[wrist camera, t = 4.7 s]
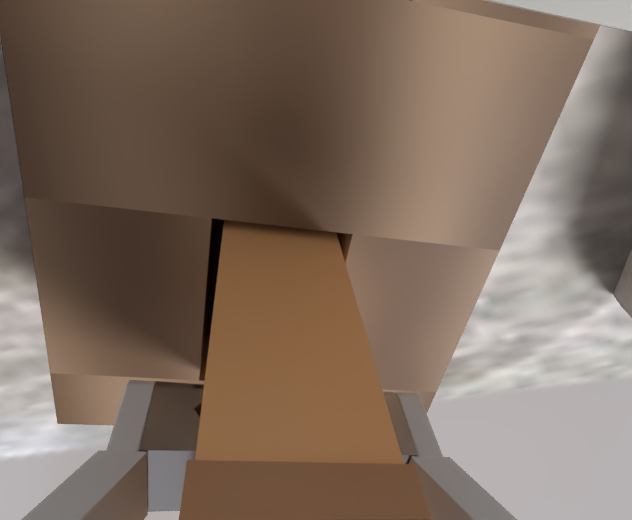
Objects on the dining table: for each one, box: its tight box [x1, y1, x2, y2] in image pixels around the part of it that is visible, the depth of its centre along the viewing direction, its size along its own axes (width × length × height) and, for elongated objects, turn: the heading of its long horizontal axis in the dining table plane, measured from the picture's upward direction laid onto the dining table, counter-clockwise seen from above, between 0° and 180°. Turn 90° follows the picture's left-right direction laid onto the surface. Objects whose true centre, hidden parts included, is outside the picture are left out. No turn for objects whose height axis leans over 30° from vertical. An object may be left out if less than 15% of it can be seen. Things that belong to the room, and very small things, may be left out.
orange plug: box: [179, 220, 431, 520], centre depth 12 cm, size 3×5×10 cm, turn 169°
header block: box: [0, 0, 600, 425], centre depth 13 cm, size 12×21×6 cm, turn 170°
